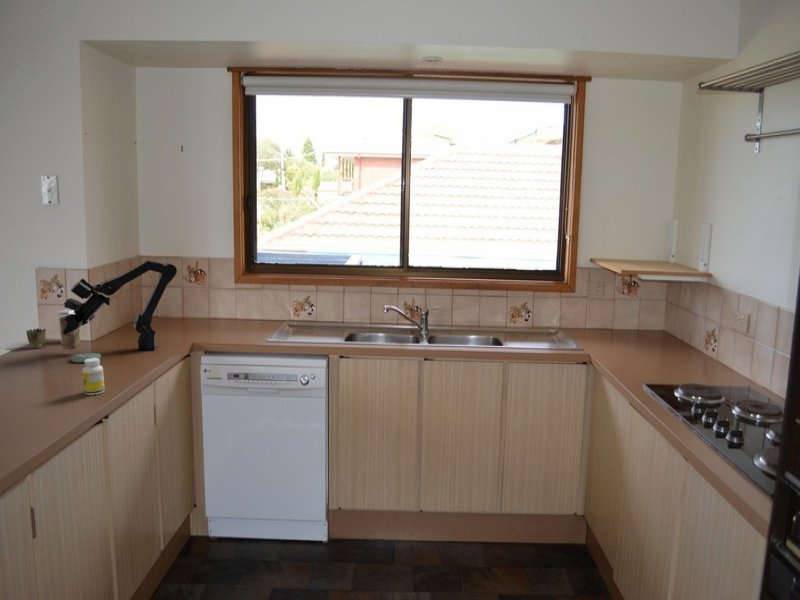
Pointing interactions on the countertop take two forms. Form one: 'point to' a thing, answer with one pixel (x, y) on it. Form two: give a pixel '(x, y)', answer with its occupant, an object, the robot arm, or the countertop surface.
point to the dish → (85, 357)
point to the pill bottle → (93, 377)
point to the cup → (36, 337)
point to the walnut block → (69, 336)
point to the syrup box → (65, 313)
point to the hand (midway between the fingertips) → (66, 332)
